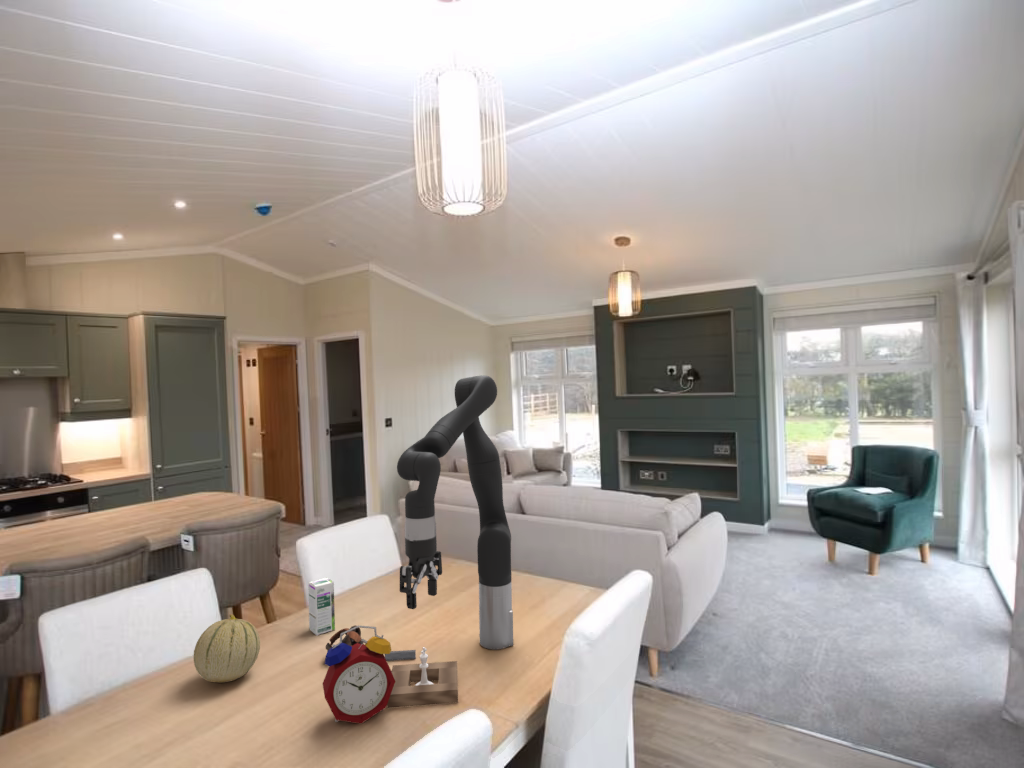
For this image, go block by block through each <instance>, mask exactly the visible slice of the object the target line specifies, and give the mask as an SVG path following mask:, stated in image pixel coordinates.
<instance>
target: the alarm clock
mask: <svg viewBox="0 0 1024 768" xmlns="http://www.w3.org/2000/svg"><path fill="white" fill-rule="evenodd" d="M358 627H359V628H360V629H363V628H364V629H372V630H373V631H374V636H372V637H370V638H369V639H368V640H366V639H364V638H361V639H362V640H361V641H362V642H363V643H362V644H359V643H356V644H354V645H353V646H349V645H347V644H345V643H342V640H343V636H344V635H345V633H347V632H350V631H352V630H354V629H356V628H358ZM348 629H349V630H347V631H345V632H343V633H341V634H340V638H339V642H338V643H337V644H334V643H333V645H332V648H331V649H330V650H327V651H328V652H327V651H326V655H325V658H324V665H326V666H327V667H328V669H327V671H326V672H325V673H326V674H325V676H324V678H323V682H322V689H323V693H324V694H323V695H324V699H325V701H326V703H327V705H328V707H329V708H330V711H331V713H332V715H333V717H334V722H335V723H338V722H339V721H340V722H348V723H353V724H354V723H355V724H363V723H365V722H366V721H368V720H369V719H371V718H372V717H374V716H376V714H378V713H380V712H383V710H384V709H387V703H388V700H389V698H390V695H391V692H392V689H393V687H394V684H395V679H394V677H393V674H392V672H391V671H392V669H391V667H390V666H389V665H390V664H389V663H388V661H386V659H385V654H390V652H391V651H392V647H391V642H389V640H387V639H386V638H384V635H383V634H381V636H380V635H378V634H377V633H378V632H377V627H376V626H369V625H359V624H358V625H356V627H354V628H352V629H350V628H348ZM343 634H344V635H343ZM342 635H343V636H342Z"/></svg>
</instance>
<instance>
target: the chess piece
mask: <svg viewBox="0 0 1024 768" xmlns="http://www.w3.org/2000/svg"><path fill="white" fill-rule="evenodd" d="M426 652H427V648H426V647H425V646H423V647H422V650H421V651H420V654H419V659H420V662H421V663H422V664H421V663H419V664H420V666H419V667H420V668H422V674H421V681H420V682H416V684H414V686H416V685H430V684H434V682H433V681H428V679H427V672H426V668H427V667H428V664H427V663H428V658H429V655H428V654H427V653H426Z"/></svg>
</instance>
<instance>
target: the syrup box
mask: <svg viewBox="0 0 1024 768" xmlns="http://www.w3.org/2000/svg"><path fill="white" fill-rule="evenodd" d="M307 583H308V584H307V586H308V589H307V591H308V622H309V623H308V624H309V625H308V626H309V627H308V628H309V631H310V632H312V633H313V634H314V635H315V636H319V635H322V634H325V633H328V632H331V631H335V630H336V622H335V621H336V616H335V582H334V581H333V580H332V579H330V578H328V577H323V578H320V579H317V580H313V581H309V582H307Z"/></svg>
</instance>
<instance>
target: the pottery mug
mask: <svg viewBox="0 0 1024 768" xmlns="http://www.w3.org/2000/svg"><path fill="white" fill-rule="evenodd" d="M356 626H357V625H353V626H351V627H350V628H348V627H344V628H342V629H340V630H338V631H337V632H336V633H334V634H333V635H331V637H330V639H329V642H327V643H326V645H325V650H326V653H327V652H328V650H330V649H331V648H332V647H333V644H334V643H336V641H337V640H339V639H340V634H341V633H343V632H345V631H347V630H349V629H352V628H354V627H356ZM344 635H345V636H344ZM343 636H344V637H343ZM361 636H362V631H361V628H360V627H358V628H356V629H354V630H352V631H350V632H347V633H345V634H343V635H342V637H343V638H342V643H345V644H347V645H349V646H353V645H354V644H356V643H359V644H362V643H363V642H362V641H361V640H362V639H363V638H362V637H361ZM363 644H364V643H363Z"/></svg>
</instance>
